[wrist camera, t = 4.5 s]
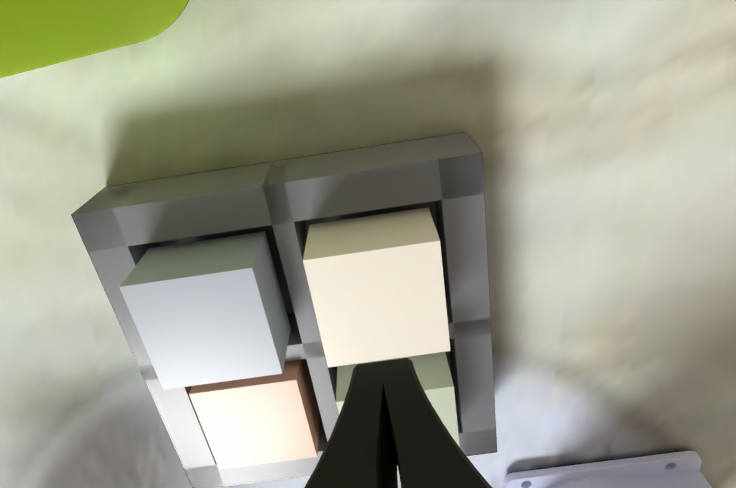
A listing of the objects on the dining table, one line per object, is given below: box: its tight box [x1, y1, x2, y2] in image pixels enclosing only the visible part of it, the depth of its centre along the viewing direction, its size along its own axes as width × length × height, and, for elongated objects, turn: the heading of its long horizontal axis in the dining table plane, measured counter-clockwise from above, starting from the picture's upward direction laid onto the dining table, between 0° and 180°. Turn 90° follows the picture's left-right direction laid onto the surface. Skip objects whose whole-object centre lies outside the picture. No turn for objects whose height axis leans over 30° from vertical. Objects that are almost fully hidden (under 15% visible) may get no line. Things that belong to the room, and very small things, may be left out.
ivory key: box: [303, 207, 450, 367], centre depth 17 cm, size 4×4×2 cm
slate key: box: [119, 231, 291, 390], centre depth 17 cm, size 4×4×2 cm
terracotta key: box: [189, 359, 320, 469], centre depth 21 cm, size 4×4×2 cm
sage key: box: [336, 352, 460, 477], centre depth 19 cm, size 4×4×2 cm
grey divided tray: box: [71, 132, 497, 488], centre depth 20 cm, size 13×13×2 cm
